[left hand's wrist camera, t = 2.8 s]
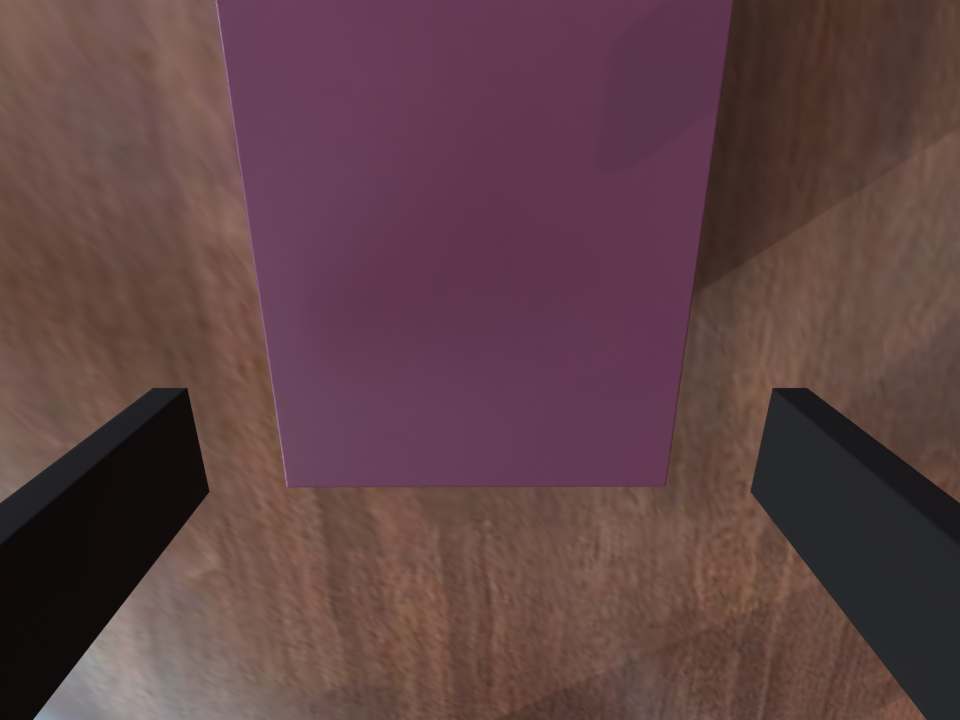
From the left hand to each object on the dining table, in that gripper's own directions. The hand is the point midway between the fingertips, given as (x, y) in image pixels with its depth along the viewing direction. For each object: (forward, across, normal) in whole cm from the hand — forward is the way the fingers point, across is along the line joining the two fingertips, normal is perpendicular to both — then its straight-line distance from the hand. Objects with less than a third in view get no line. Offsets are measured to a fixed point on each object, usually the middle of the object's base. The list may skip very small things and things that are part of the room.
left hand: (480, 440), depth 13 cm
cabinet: (+14, 0, -6) cm, 15 cm away
